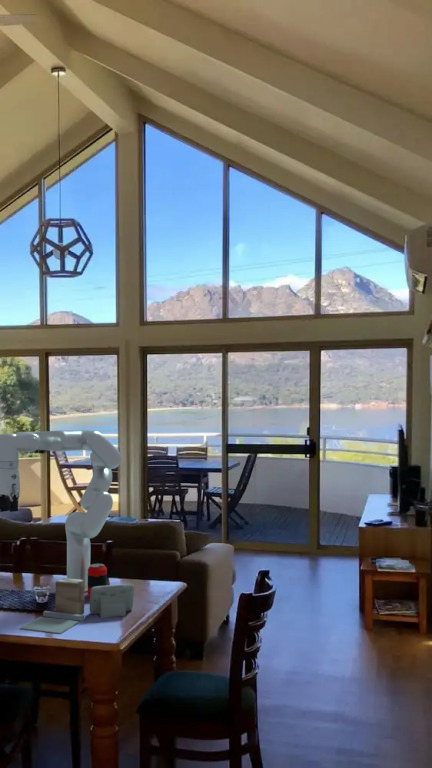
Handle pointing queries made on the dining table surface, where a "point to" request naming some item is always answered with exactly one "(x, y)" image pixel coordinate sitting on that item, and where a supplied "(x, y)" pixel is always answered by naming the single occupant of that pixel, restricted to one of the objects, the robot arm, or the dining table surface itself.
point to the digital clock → (111, 600)
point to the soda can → (96, 576)
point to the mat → (49, 625)
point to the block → (70, 596)
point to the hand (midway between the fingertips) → (8, 509)
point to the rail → (63, 615)
